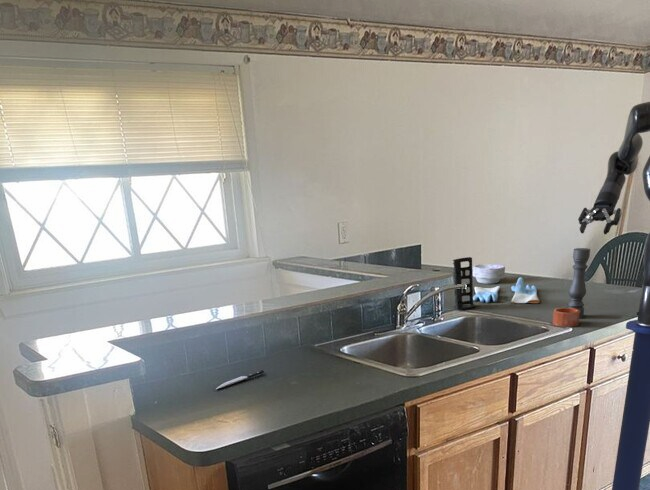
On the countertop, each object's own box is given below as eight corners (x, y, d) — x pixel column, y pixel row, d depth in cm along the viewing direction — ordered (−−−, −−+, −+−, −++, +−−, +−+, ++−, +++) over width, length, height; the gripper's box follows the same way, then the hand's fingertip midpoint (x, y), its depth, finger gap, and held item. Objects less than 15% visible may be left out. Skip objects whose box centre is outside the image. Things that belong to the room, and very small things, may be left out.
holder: (466, 310, 264) (464, 260, 258) (449, 310, 269) (446, 260, 262) (478, 305, 272) (476, 256, 266) (461, 305, 277) (459, 257, 270)
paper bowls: (508, 280, 321) (509, 264, 318) (498, 286, 309) (499, 269, 306) (478, 278, 329) (479, 262, 325) (467, 284, 317) (468, 267, 314)
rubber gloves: (471, 303, 277) (472, 288, 275) (474, 288, 306) (475, 274, 304) (539, 304, 271) (540, 288, 268) (535, 288, 300) (536, 274, 297)
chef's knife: (209, 388, 189) (215, 390, 187) (208, 385, 188) (215, 386, 186) (258, 371, 201) (265, 373, 199) (258, 368, 201) (264, 369, 199)
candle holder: (569, 314, 252) (576, 247, 242) (585, 316, 249) (593, 248, 239) (563, 317, 248) (570, 249, 238) (579, 319, 244) (587, 250, 234)
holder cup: (584, 324, 237) (585, 311, 235) (563, 328, 234) (565, 314, 232) (567, 319, 244) (568, 306, 242) (547, 322, 242) (548, 309, 240)
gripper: (587, 190, 248) (572, 225, 245) (626, 190, 239) (611, 226, 236) (590, 204, 254) (576, 238, 250) (629, 204, 245) (614, 239, 241)
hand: (593, 232), depth 243 cm, fingers open, 8 cm apart
